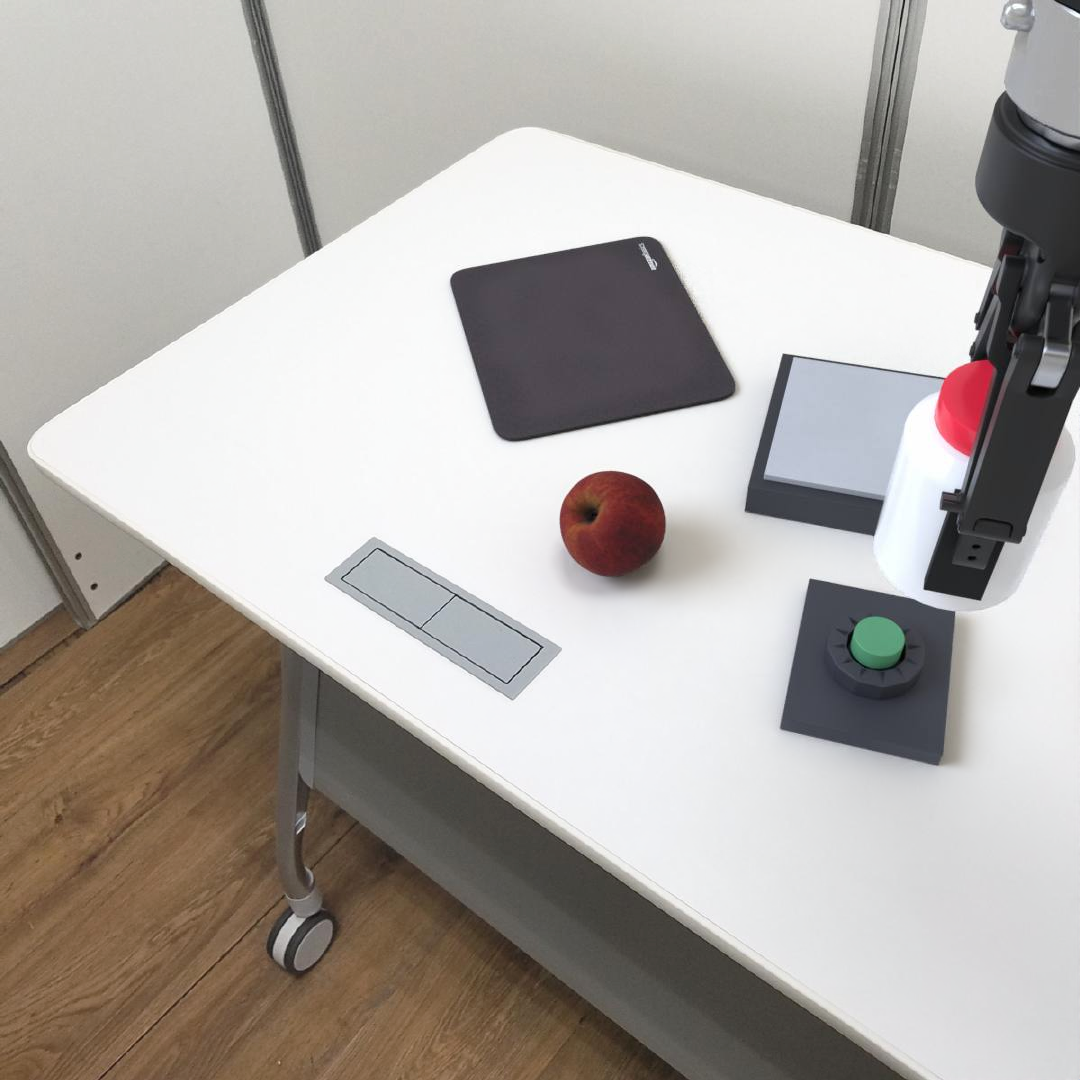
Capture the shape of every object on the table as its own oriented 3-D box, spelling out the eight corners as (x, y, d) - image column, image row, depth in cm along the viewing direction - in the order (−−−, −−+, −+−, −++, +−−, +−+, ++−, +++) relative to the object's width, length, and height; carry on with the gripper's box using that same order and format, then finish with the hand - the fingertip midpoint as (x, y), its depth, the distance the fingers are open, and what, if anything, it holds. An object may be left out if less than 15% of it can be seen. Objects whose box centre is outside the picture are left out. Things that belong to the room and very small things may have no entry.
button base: (938, 766, 69) (949, 741, 67) (779, 729, 71) (784, 704, 69) (951, 619, 76) (961, 592, 74) (807, 589, 79) (812, 563, 77)
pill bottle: (997, 635, 54) (1066, 483, 46) (850, 574, 57) (889, 420, 49) (1044, 533, 58) (1115, 376, 50) (904, 481, 61) (949, 324, 53)
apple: (547, 536, 84) (541, 462, 78) (641, 508, 85) (643, 433, 79) (581, 608, 79) (578, 535, 73) (680, 577, 80) (685, 503, 74)
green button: (897, 674, 71) (902, 660, 69) (847, 663, 71) (851, 650, 70) (902, 635, 73) (907, 621, 71) (853, 625, 73) (857, 611, 72)
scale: (961, 552, 80) (973, 521, 78) (744, 511, 84) (748, 480, 82) (974, 409, 90) (984, 377, 88) (779, 378, 94) (783, 347, 91)
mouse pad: (741, 395, 93) (742, 393, 92) (498, 444, 90) (497, 442, 90) (655, 235, 109) (655, 233, 109) (446, 273, 106) (446, 271, 106)
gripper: (1008, -25, 46) (901, 384, 63) (983, 259, 34) (859, 673, 51) (1203, -12, 44) (1039, 405, 62) (1254, 294, 32) (1030, 709, 49)
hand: (958, 526), depth 56 cm, fingers closed on pill bottle, 8 cm apart
